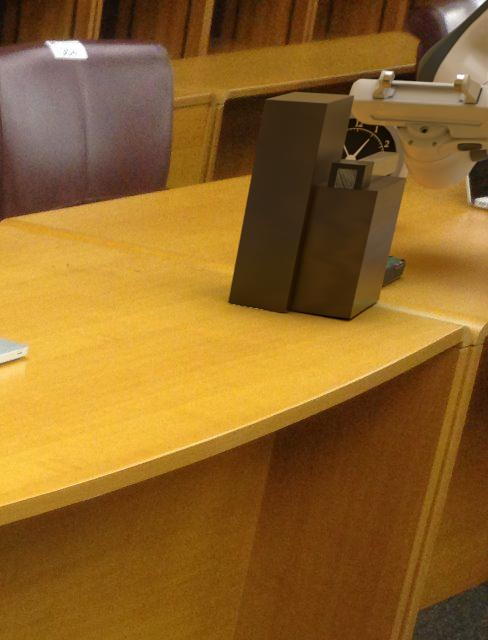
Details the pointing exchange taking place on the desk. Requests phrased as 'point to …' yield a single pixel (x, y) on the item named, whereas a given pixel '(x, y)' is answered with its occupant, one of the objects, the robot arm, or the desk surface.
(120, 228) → the desk surface
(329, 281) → the stepped stand
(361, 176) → the handle bar
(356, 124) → the alarm clock
